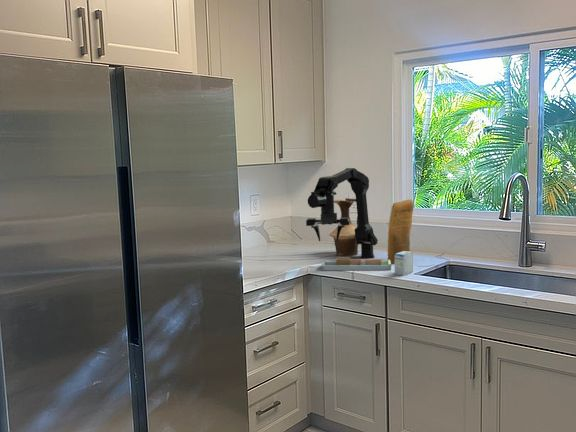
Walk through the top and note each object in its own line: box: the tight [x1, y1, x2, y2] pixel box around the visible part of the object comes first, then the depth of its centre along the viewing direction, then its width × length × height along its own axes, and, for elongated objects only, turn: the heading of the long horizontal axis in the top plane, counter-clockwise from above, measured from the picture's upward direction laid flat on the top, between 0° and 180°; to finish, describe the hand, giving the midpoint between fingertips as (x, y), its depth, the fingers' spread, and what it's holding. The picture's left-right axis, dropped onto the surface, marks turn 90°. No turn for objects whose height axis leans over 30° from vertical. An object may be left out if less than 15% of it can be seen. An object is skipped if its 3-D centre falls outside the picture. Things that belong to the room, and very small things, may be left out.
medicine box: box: [394, 251, 414, 276], centre depth 239 cm, size 8×4×9 cm, turn 141°
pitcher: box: [328, 197, 359, 257], centre depth 286 cm, size 18×17×28 cm
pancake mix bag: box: [387, 199, 414, 265], centre depth 262 cm, size 7×19×28 cm, turn 132°
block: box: [335, 256, 351, 265], centre depth 254 cm, size 5×6×4 cm
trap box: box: [320, 258, 392, 271], centre depth 255 cm, size 14×30×2 cm, turn 82°
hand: (328, 241), depth 254 cm, fingers open, 7 cm apart
